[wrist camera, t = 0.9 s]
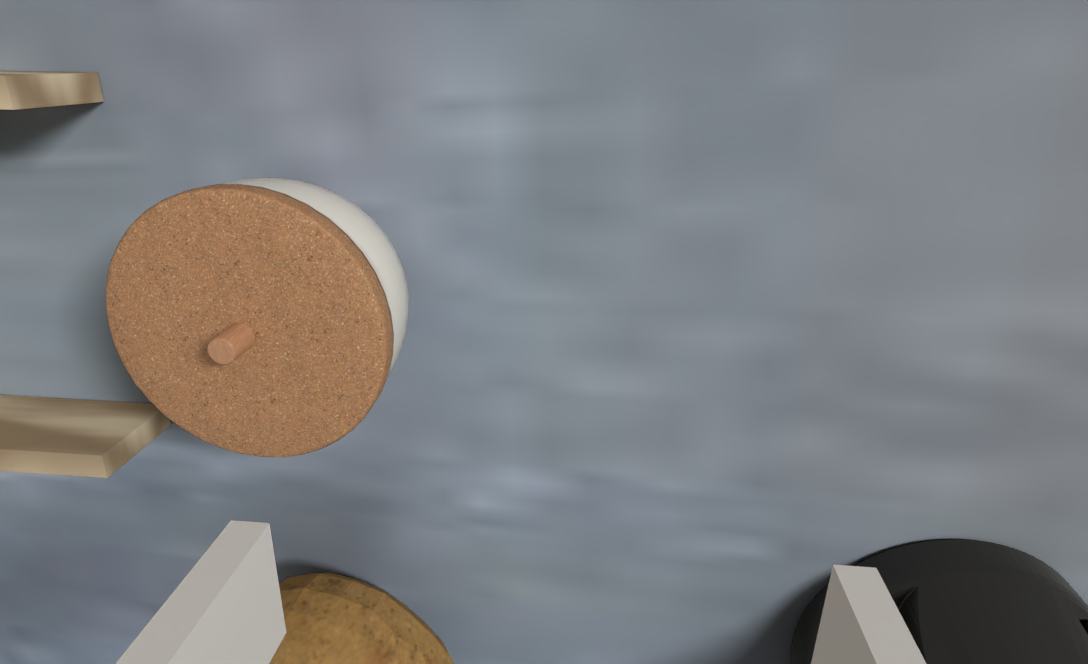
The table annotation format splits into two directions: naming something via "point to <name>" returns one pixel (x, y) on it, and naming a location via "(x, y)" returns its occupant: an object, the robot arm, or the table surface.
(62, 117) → the table surface
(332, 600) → the potato
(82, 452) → the bay
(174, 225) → the lidded jar
